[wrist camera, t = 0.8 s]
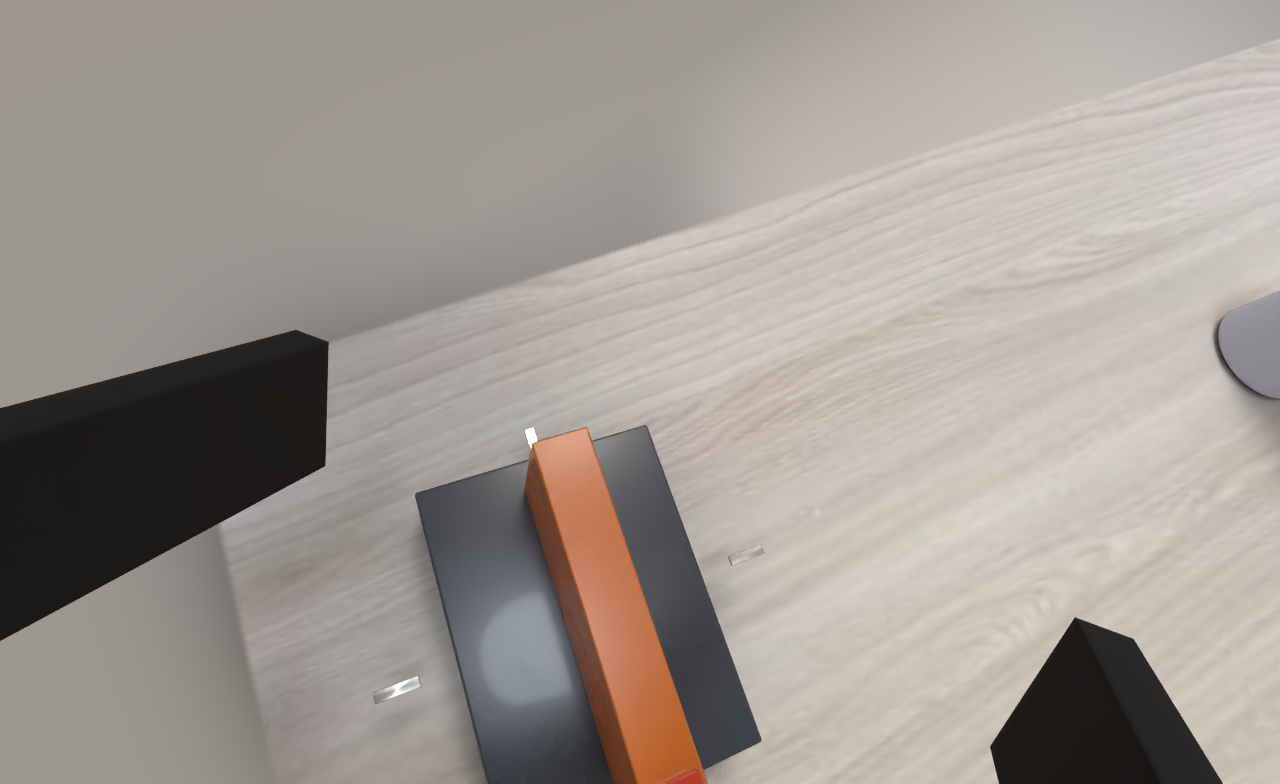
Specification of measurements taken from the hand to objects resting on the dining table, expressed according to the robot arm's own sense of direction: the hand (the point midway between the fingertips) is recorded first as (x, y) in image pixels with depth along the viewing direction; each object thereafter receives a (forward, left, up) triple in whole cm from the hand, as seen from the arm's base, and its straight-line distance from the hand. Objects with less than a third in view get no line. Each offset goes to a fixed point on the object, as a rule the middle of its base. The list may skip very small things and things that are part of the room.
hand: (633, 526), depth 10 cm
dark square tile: (+1, +1, -16) cm, 16 cm away
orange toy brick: (+1, +1, -12) cm, 12 cm away
